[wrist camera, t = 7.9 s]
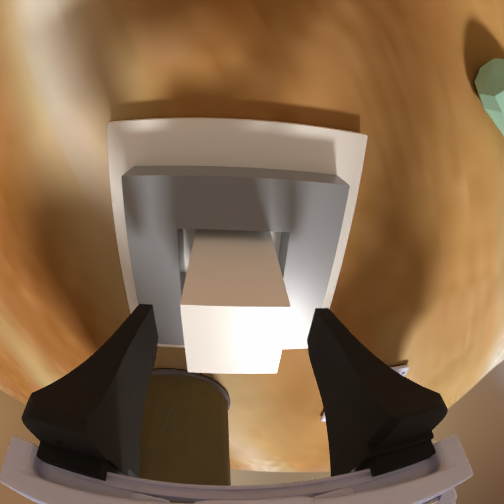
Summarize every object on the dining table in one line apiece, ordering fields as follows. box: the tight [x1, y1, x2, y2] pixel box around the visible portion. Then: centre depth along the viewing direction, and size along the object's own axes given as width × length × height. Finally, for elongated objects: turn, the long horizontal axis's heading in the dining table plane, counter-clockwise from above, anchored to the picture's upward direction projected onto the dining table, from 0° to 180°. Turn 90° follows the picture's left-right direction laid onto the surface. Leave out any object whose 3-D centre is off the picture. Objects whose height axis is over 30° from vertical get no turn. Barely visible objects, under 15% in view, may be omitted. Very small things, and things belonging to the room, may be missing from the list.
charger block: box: [180, 229, 291, 374], centre depth 14 cm, size 4×4×7 cm
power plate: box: [107, 117, 368, 349], centre depth 17 cm, size 16×14×3 cm
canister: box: [140, 369, 231, 503], centre depth 18 cm, size 11×10×20 cm
